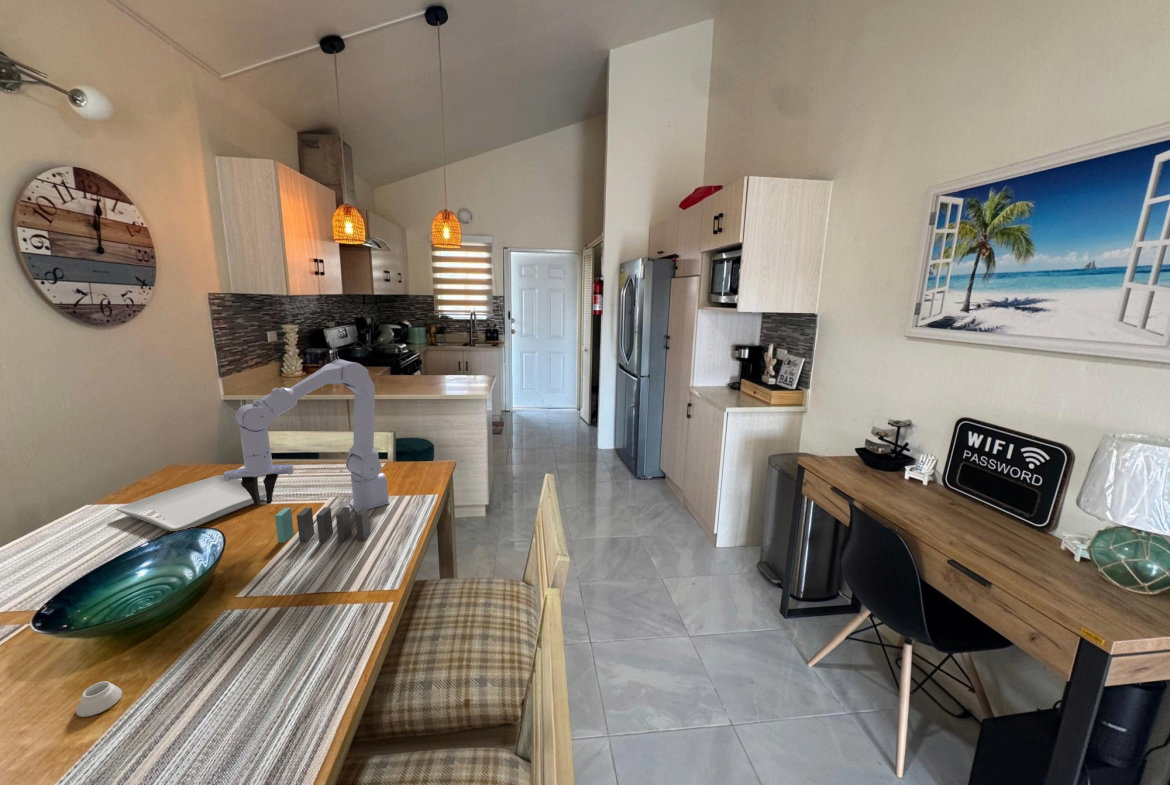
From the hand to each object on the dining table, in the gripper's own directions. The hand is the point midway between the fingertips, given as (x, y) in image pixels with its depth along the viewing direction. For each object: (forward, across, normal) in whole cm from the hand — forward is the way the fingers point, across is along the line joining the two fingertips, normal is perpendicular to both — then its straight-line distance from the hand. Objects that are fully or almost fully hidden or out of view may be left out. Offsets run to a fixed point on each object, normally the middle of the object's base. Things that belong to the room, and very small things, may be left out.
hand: (263, 503), depth 121 cm
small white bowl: (+10, +13, +49) cm, 52 cm away
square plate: (+10, +22, -26) cm, 36 cm away
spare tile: (+10, -4, +1) cm, 11 cm away
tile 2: (+10, -18, +6) cm, 22 cm away
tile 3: (+10, -14, +4) cm, 18 cm away
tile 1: (+10, -23, +7) cm, 26 cm away
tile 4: (+10, -9, +3) cm, 14 cm away
